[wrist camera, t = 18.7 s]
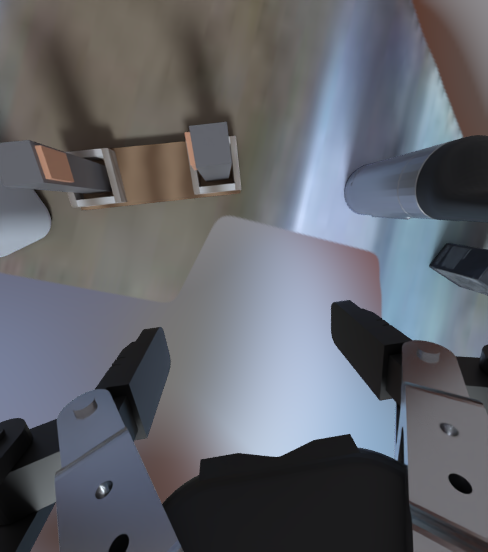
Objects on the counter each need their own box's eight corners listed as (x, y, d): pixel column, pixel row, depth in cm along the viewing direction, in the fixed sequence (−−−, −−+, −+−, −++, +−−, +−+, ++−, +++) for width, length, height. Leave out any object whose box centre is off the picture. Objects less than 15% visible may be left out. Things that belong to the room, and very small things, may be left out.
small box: (478, 263, 52) (539, 276, 42) (459, 287, 53) (513, 305, 43) (447, 241, 50) (504, 250, 40) (427, 266, 51) (477, 281, 41)
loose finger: (225, 154, 39) (226, 121, 24) (228, 179, 41) (232, 163, 25) (198, 157, 39) (183, 126, 24) (202, 182, 40) (190, 168, 25)
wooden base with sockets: (234, 139, 40) (235, 132, 36) (239, 193, 43) (241, 192, 39) (69, 154, 39) (53, 149, 35) (86, 209, 41) (72, 210, 38)
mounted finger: (109, 165, 38) (35, 139, 23) (116, 190, 39) (49, 181, 24) (81, 168, 38) (-13, 143, 23) (88, 193, 39) (4, 186, 24)
